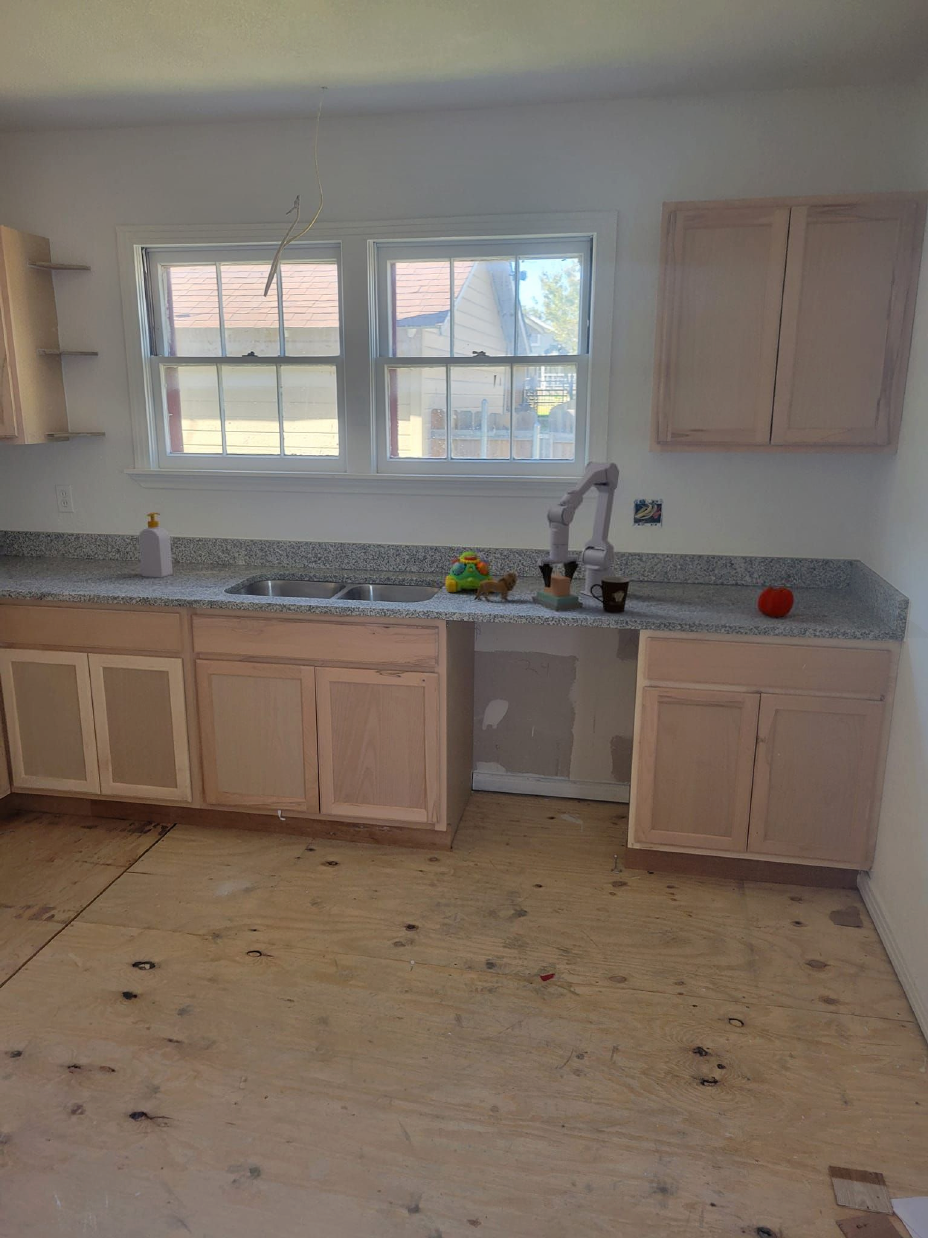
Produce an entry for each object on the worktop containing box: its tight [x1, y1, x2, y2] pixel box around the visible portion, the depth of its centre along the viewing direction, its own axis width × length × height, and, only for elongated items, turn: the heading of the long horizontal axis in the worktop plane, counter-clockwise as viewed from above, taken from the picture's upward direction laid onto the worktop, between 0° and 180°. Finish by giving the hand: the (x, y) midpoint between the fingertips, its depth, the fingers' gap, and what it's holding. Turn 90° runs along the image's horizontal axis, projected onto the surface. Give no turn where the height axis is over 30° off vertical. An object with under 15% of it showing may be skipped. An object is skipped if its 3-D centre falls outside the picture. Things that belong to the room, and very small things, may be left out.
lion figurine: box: [473, 571, 518, 602], centre depth 270 cm, size 15×5×9 cm, turn 108°
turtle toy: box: [445, 551, 494, 593], centre depth 288 cm, size 17×23×12 cm
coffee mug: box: [590, 576, 630, 614], centre depth 258 cm, size 12×9×10 cm
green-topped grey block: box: [531, 590, 584, 612], centre depth 265 cm, size 10×14×4 cm
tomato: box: [757, 586, 795, 618], centre depth 253 cm, size 11×11×9 cm
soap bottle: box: [138, 512, 174, 579], centre depth 302 cm, size 9×7×23 cm
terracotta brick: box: [543, 573, 571, 597], centre depth 264 cm, size 4×8×6 cm, turn 27°
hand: (557, 586), depth 264 cm, fingers open, 7 cm apart
